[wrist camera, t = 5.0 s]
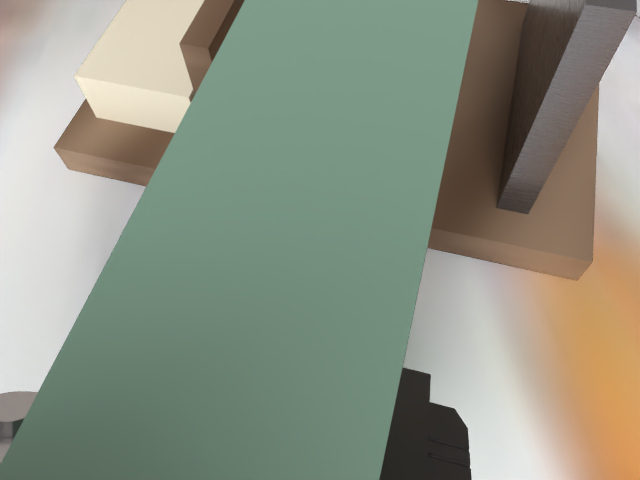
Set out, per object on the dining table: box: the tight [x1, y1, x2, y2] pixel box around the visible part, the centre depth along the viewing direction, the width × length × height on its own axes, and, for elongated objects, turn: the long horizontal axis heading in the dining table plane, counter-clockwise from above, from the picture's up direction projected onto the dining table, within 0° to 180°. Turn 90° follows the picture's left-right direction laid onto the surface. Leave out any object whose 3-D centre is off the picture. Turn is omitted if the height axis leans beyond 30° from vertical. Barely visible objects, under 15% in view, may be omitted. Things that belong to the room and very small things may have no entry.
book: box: [0, 0, 478, 480], centre depth 13 cm, size 4×10×14 cm, turn 164°
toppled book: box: [74, 0, 204, 133], centre depth 25 cm, size 5×10×2 cm, turn 165°
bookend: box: [496, 0, 637, 214], centre depth 20 cm, size 1×11×9 cm, turn 164°
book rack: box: [54, 0, 599, 280], centre depth 23 cm, size 22×14×8 cm, turn 74°
